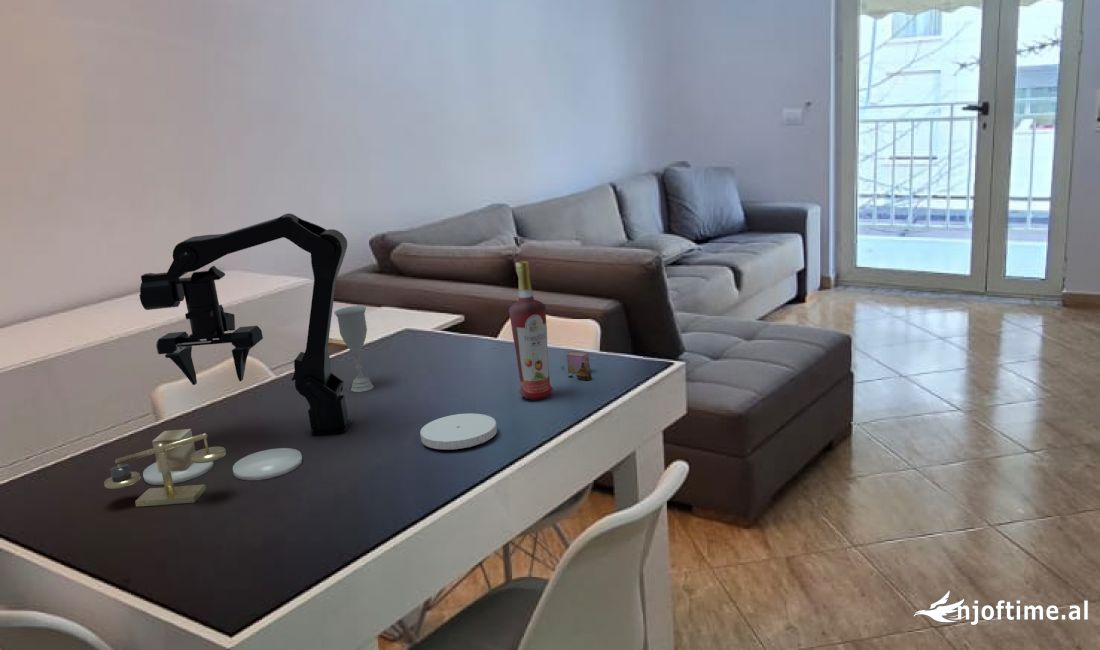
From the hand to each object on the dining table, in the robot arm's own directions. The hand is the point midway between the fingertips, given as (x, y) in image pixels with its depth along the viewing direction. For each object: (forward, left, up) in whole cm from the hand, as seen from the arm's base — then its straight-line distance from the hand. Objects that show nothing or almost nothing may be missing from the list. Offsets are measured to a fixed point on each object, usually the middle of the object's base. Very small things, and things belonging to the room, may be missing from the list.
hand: (218, 382), depth 179 cm
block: (+4, +14, -11) cm, 18 cm away
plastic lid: (-47, +8, -13) cm, 49 cm away
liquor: (-60, -12, -12) cm, 62 cm away
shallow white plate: (-13, +15, -12) cm, 23 cm away
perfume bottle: (-71, -25, -13) cm, 76 cm away
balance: (0, +26, -12) cm, 29 cm away
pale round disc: (+4, +14, -12) cm, 19 cm away
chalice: (-20, -27, -12) cm, 36 cm away
